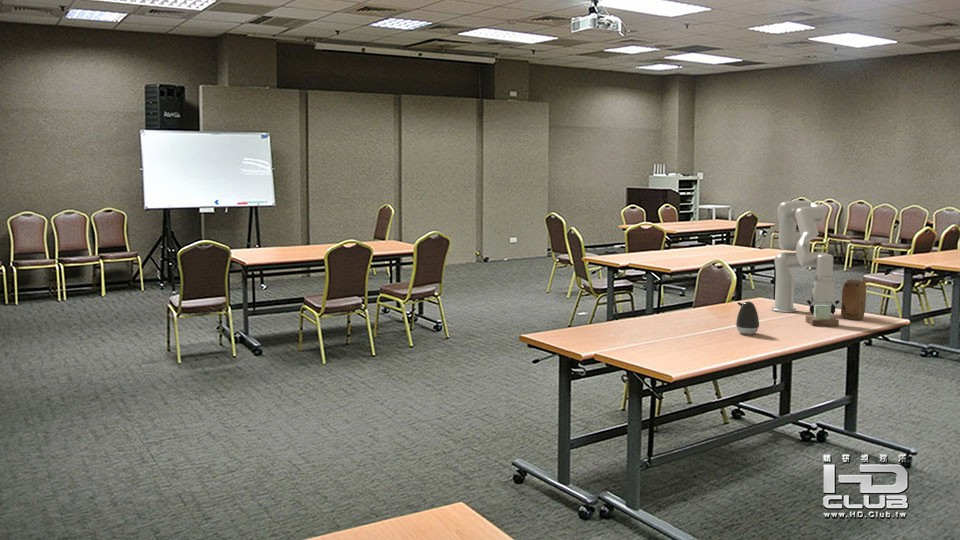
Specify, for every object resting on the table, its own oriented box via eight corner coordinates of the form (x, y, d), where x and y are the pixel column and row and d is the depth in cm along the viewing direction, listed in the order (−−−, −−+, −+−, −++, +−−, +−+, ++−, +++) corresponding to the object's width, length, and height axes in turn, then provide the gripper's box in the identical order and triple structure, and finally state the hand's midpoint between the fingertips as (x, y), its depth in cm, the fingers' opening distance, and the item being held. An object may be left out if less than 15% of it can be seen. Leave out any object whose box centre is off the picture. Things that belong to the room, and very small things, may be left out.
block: (866, 319, 406) (868, 280, 404) (859, 321, 401) (862, 281, 398) (844, 316, 414) (846, 278, 411) (838, 318, 409) (840, 279, 406)
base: (805, 321, 400) (805, 315, 400) (830, 321, 399) (830, 315, 399) (812, 326, 388) (813, 319, 388) (838, 326, 387) (838, 320, 387)
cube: (813, 316, 397) (814, 304, 396) (826, 316, 396) (826, 305, 395) (817, 318, 391) (818, 306, 390) (830, 319, 390) (830, 307, 389)
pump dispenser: (741, 330, 378) (743, 299, 377) (762, 333, 371) (764, 301, 369) (731, 333, 371) (732, 301, 369) (752, 336, 364) (753, 304, 362)
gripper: (808, 280, 388) (806, 314, 390) (844, 280, 386) (843, 315, 388) (803, 278, 395) (801, 311, 398) (839, 278, 394) (837, 312, 396)
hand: (822, 313), depth 393 cm, fingers open, 9 cm apart
